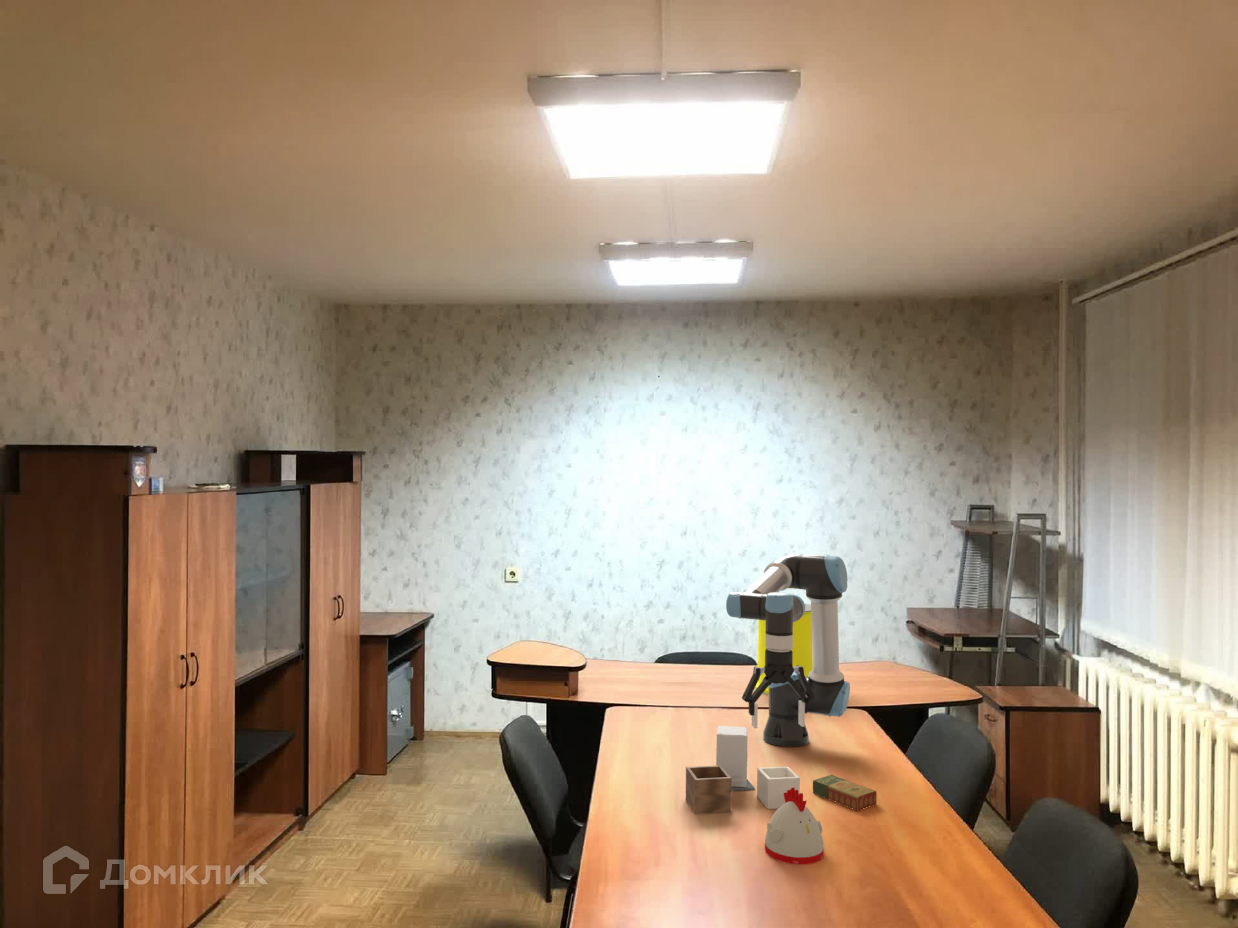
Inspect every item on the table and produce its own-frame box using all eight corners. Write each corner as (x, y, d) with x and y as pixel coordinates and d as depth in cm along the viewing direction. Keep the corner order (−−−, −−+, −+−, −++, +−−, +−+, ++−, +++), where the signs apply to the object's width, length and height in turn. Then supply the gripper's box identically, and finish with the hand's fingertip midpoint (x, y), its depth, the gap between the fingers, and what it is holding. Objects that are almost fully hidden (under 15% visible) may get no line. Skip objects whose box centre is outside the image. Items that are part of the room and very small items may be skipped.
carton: (857, 812, 229) (857, 796, 229) (811, 793, 242) (811, 778, 242) (877, 805, 234) (877, 789, 234) (831, 787, 247) (831, 772, 247)
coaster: (742, 776, 255) (742, 774, 255) (754, 789, 244) (754, 787, 244) (707, 777, 253) (707, 775, 253) (717, 791, 242) (717, 789, 242)
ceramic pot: (787, 794, 240) (787, 766, 240) (799, 806, 231) (799, 777, 231) (757, 796, 239) (757, 767, 239) (767, 808, 230) (768, 779, 230)
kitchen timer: (786, 868, 195) (787, 802, 195) (753, 844, 208) (754, 782, 208) (835, 858, 201) (836, 794, 201) (801, 835, 213) (801, 775, 213)
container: (754, 680, 374) (755, 600, 374) (814, 683, 370) (815, 602, 371) (755, 695, 348) (756, 610, 349) (820, 698, 344) (820, 612, 345)
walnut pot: (720, 797, 237) (720, 765, 237) (731, 811, 227) (731, 777, 228) (685, 799, 236) (685, 766, 236) (694, 813, 226) (695, 779, 226)
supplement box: (747, 788, 243) (747, 735, 243) (715, 786, 244) (716, 733, 245) (747, 777, 252) (747, 726, 252) (716, 775, 253) (717, 724, 254)
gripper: (816, 645, 241) (815, 720, 241) (731, 647, 237) (730, 723, 237) (826, 650, 234) (826, 728, 234) (739, 652, 230) (738, 731, 229)
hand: (778, 726), depth 235 cm, fingers open, 13 cm apart
